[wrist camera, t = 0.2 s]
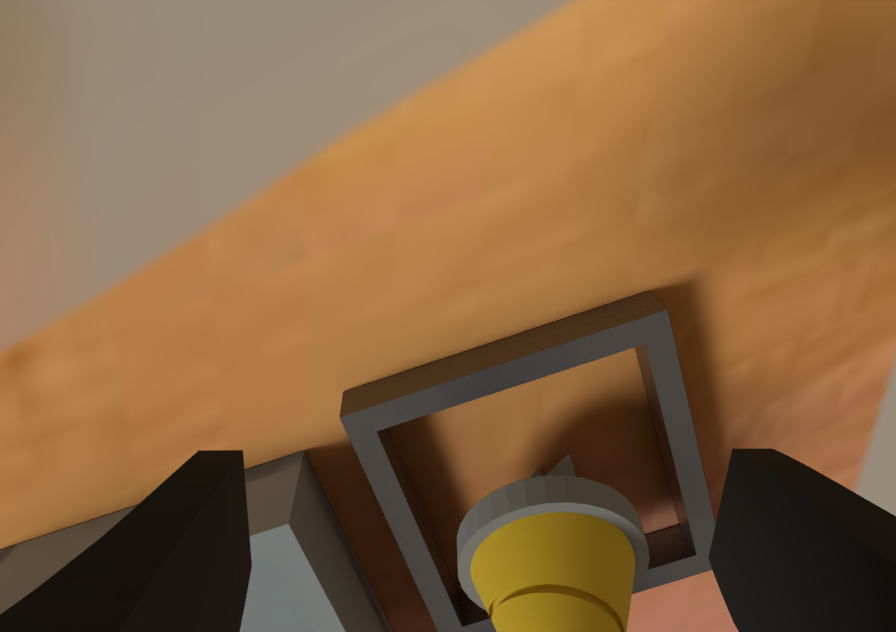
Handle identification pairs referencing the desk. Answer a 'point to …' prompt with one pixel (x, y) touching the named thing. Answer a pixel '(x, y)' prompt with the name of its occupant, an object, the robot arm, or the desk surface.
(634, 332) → the grey square frame
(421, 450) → the desk surface
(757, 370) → the desk surface
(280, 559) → the bin
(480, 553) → the drill bit
